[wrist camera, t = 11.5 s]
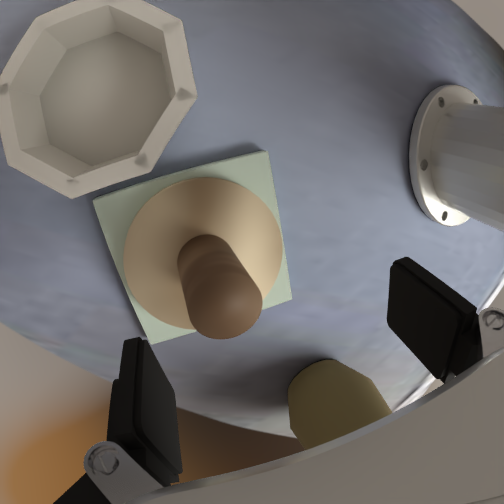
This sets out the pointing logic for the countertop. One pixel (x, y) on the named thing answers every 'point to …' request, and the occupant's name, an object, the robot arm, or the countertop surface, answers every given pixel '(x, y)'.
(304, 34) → the countertop surface
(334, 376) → the squeeze bottle
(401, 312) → the robot arm
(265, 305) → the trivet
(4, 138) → the bowl
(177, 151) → the countertop surface
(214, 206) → the lid
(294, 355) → the countertop surface
